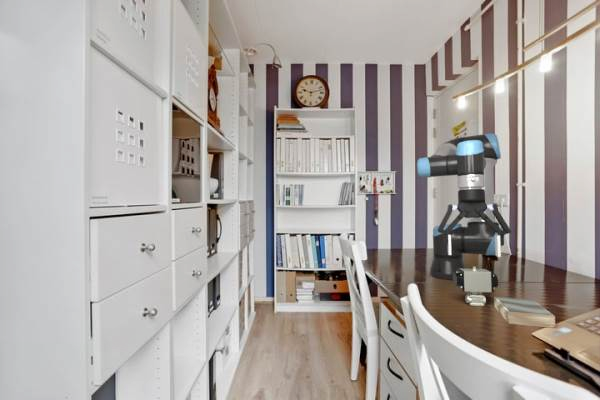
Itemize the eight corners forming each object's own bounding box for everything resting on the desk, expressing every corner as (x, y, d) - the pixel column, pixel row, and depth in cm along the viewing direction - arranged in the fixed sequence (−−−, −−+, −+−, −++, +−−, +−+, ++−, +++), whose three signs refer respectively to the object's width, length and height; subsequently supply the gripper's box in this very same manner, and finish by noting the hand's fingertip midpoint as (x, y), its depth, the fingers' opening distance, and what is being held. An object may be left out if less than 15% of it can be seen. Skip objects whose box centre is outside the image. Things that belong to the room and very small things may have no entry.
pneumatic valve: (499, 308, 90) (498, 268, 90) (457, 306, 92) (456, 267, 93) (491, 302, 95) (490, 265, 96) (452, 300, 98) (451, 264, 98)
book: (494, 306, 91) (493, 296, 91) (533, 310, 88) (532, 298, 88) (508, 323, 78) (508, 311, 78) (555, 328, 75) (554, 315, 75)
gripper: (429, 189, 96) (431, 255, 95) (521, 186, 87) (524, 258, 86) (428, 191, 103) (429, 252, 102) (513, 188, 94) (515, 255, 93)
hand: (473, 255), depth 94 cm, fingers open, 13 cm apart
